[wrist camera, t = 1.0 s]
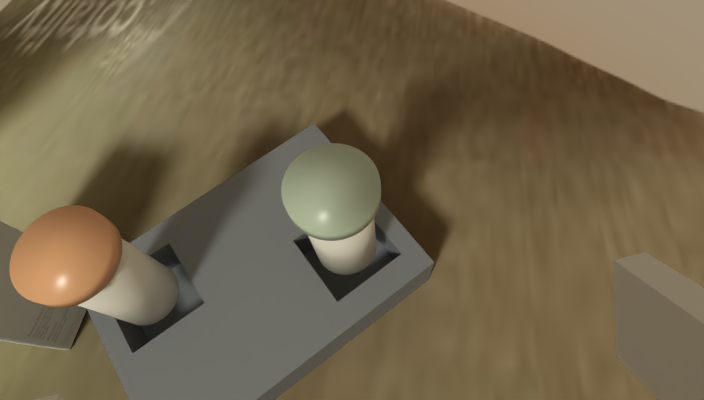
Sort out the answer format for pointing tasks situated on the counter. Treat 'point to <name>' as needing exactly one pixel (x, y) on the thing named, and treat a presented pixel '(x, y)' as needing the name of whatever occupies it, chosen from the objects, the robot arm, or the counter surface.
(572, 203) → the counter surface
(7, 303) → the supplement box
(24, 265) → the orange capped cylinder
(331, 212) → the green capped cylinder
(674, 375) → the robot arm
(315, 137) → the console
